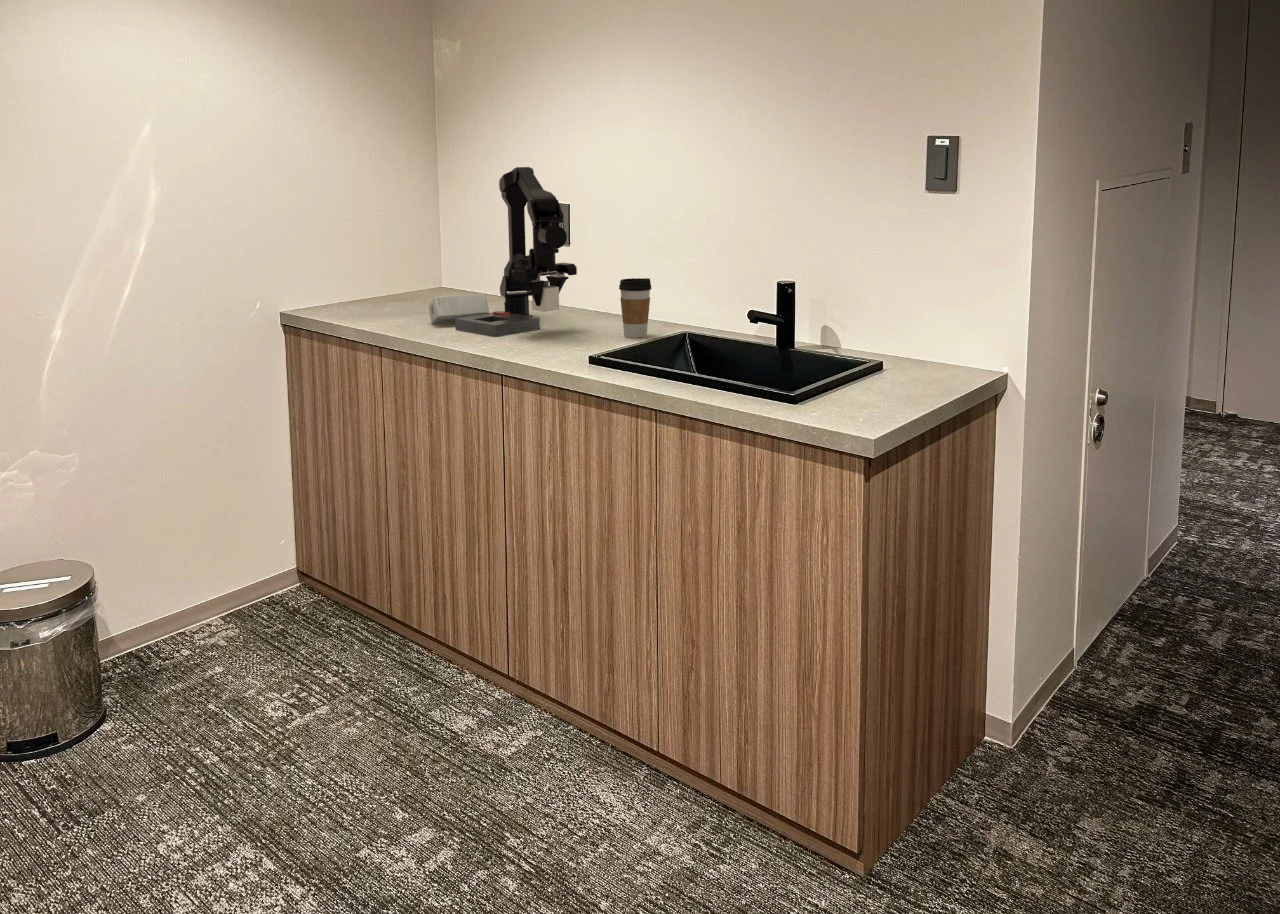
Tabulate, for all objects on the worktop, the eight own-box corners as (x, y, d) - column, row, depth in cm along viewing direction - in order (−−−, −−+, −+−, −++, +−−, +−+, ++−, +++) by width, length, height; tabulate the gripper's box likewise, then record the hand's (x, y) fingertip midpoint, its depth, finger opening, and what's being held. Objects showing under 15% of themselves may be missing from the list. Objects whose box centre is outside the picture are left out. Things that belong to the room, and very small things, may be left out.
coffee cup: (640, 340, 298) (640, 281, 293) (613, 337, 302) (612, 279, 298) (657, 335, 304) (657, 277, 300) (630, 332, 309) (630, 275, 304)
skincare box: (436, 316, 314) (490, 313, 320) (433, 295, 315) (487, 292, 321) (430, 324, 322) (482, 321, 328) (427, 303, 323) (479, 300, 328)
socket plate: (499, 322, 324) (499, 309, 323) (539, 328, 314) (539, 315, 313) (455, 329, 313) (454, 316, 312) (495, 336, 303) (495, 323, 302)
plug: (545, 307, 309) (545, 279, 307) (559, 309, 306) (558, 281, 304) (532, 309, 306) (531, 281, 304) (545, 311, 302) (544, 283, 300)
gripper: (548, 240, 313) (549, 297, 317) (496, 245, 299) (498, 306, 304) (577, 242, 306) (578, 301, 310) (526, 248, 292) (527, 310, 297)
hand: (545, 304), depth 305 cm, fingers closed on plug, 5 cm apart
